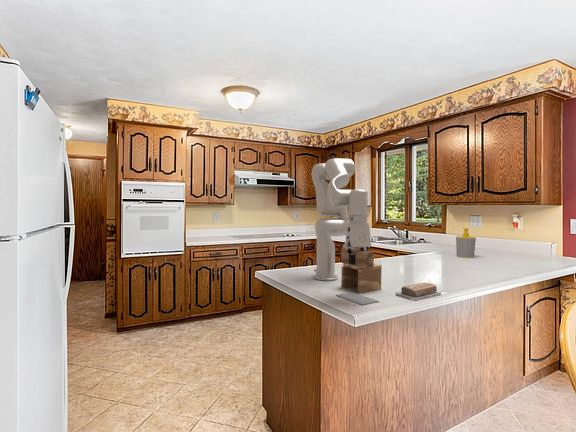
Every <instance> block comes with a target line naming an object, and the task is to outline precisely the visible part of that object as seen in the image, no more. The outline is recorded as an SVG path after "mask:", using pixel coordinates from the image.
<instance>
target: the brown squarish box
mask: <svg viewBox="0 0 576 432" xmlns="http://www.w3.org/2000/svg"><path fill="white" fill-rule="evenodd" d="M382 268H383V267H382V265H381V264H376V263H374V267H370V268H361V267H357V266H353V265H349V264H345V263H342V265H341V281H340V282H341V284H340V287H341V288H345V289H346V288H350V287H356V286H357V294H364V293H370V292H375V291H380V290H382Z"/></svg>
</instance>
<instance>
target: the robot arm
mask: <svg viewBox="0 0 576 432" xmlns="http://www.w3.org/2000/svg"><path fill="white" fill-rule="evenodd" d="M355 171H356V164H355V162H354V161H353V160H352V159H350V158H339V157H336V158H330V159H328V160H327V161H325V163H320V162H319V163H316V164H314V165H313V167H312V169H311V179H312V182H313V186H314V190H315V200H316V211H317V213H318V215H320V216H322V218H319V219H317V220H316V221H315V224H314V230H315V237H316V268H314V269H313V272H314V273H315V274H314V275H313V279H314V280H317V281H325V282H326V281H330V282H331V281H337V280H338V277H339V276H338V275H336V274H335V270H336V268H335V267H336V266H335V265H336V246H335V242H334V240H333V239H332V238H331V237H344V236H345V242H344V243H343V245H342V249H345V250H346V251H347V252H348V254H349V264H352V265H355V255H354V253H355V249H358V248H359V250H364V251H369V250H370V248H371V247H372V243H371V230H370V225H369V224H370V223H369V222H368V200H369V198H368V191H367V190H365V189H343V188H345V187H346V186H347V185H348V184H349V182H350V179H351V177H352V176H353V175H354V174H355ZM327 180H328V181H329V182H327ZM323 216H325V217H323ZM327 216H329V217H327ZM330 216H331V217H330ZM332 216H333V217H332ZM334 216H335V217H334ZM351 249H352V250H351Z"/></svg>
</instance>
